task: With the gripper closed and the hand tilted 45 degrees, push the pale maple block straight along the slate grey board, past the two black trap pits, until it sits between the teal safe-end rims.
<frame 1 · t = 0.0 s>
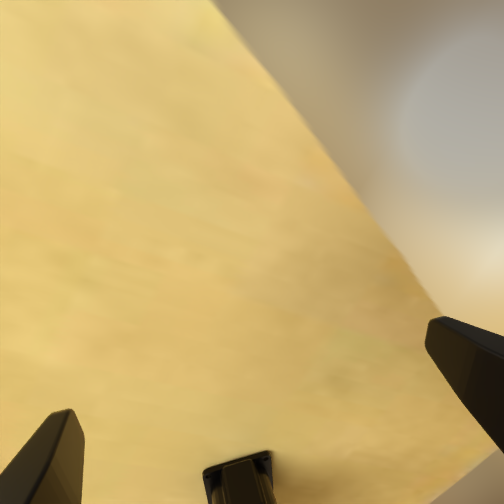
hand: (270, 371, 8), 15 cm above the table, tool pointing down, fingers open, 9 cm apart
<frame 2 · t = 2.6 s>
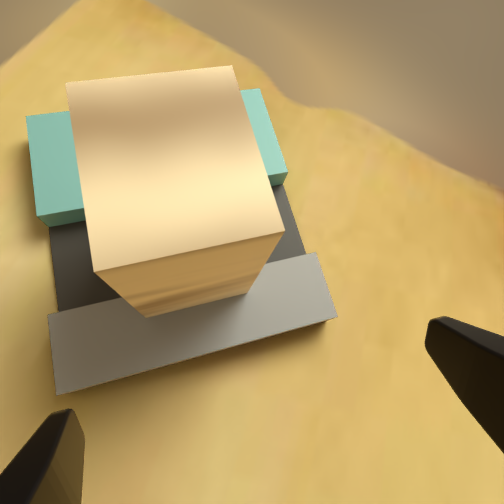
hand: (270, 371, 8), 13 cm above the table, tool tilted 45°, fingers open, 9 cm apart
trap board: (178, 225, 24), on the table
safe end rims: (164, 161, 25), on the table
maple block: (185, 249, 21), point 2 cm above the table, touching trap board
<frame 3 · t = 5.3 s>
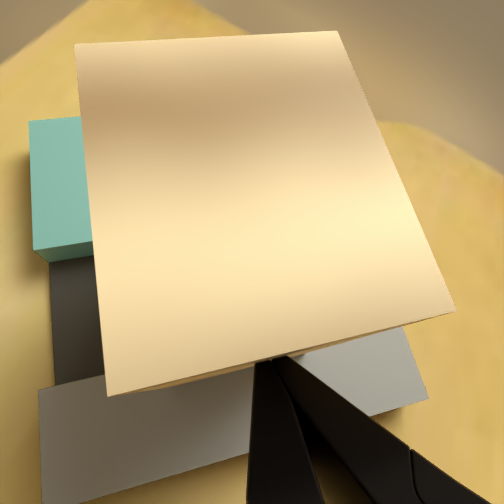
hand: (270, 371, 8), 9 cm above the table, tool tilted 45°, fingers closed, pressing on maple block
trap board: (213, 263, 19), on the table
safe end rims: (196, 181, 20), on the table
maple block: (223, 291, 16), point 2 cm above the table, touching gripper
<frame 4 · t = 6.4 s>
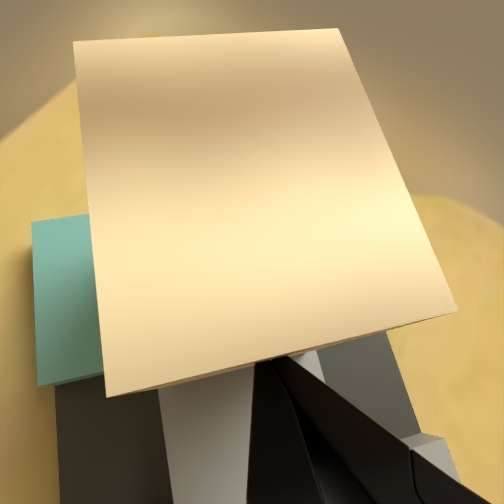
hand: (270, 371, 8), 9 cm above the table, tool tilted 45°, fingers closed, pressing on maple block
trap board: (237, 376, 17), on the table
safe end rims: (216, 276, 18), on the table
maple block: (223, 291, 16), point 2 cm above the table, touching gripper, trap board
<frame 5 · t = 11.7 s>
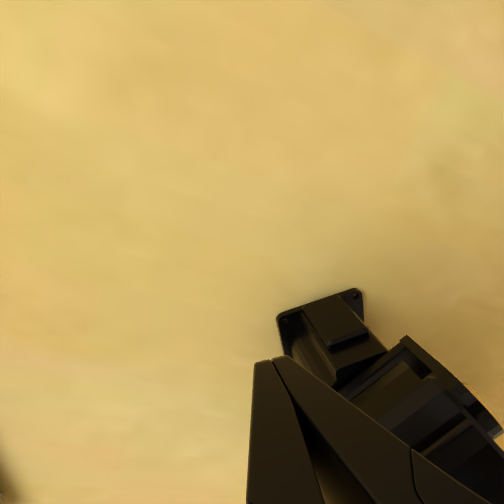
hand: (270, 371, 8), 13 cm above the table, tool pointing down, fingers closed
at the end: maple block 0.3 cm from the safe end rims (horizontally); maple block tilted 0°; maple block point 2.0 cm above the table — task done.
